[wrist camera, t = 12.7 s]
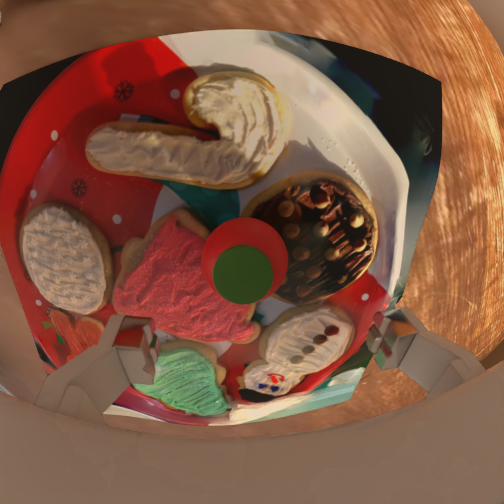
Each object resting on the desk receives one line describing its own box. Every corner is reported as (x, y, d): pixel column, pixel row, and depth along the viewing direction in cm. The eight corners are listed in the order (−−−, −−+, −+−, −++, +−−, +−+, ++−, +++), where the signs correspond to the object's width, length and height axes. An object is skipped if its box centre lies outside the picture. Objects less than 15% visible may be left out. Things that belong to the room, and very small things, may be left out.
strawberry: (262, 199, 15) (265, 206, 11) (295, 265, 16) (310, 297, 12) (196, 234, 16) (172, 255, 11) (231, 296, 17) (223, 336, 12)
